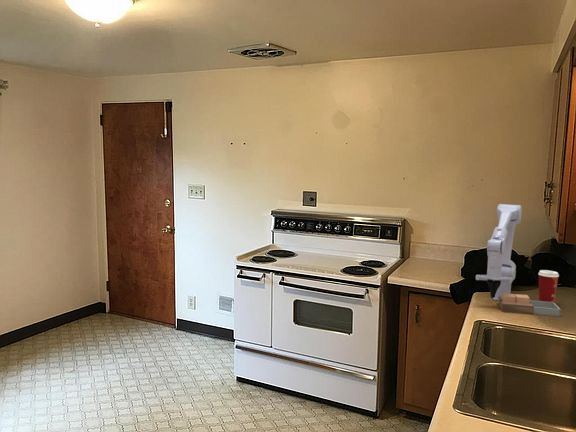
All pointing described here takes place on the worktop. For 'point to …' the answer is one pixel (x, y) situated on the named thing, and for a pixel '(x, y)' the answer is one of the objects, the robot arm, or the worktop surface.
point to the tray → (545, 308)
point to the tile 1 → (508, 297)
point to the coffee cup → (547, 285)
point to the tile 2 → (522, 299)
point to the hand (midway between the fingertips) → (492, 297)
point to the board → (515, 307)
